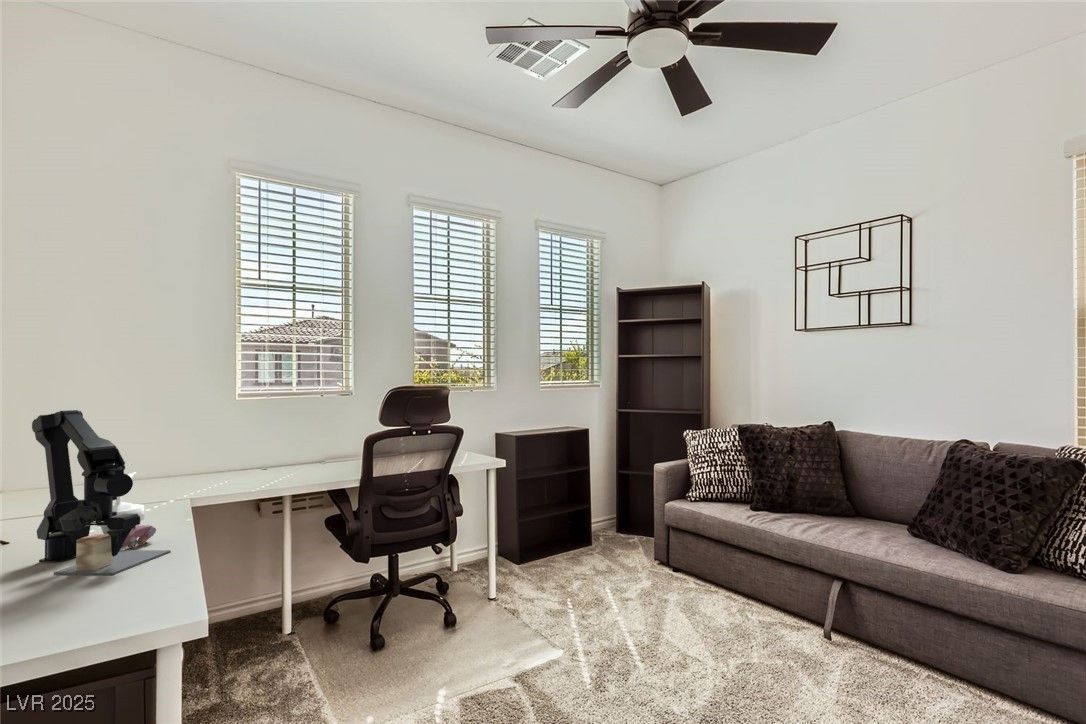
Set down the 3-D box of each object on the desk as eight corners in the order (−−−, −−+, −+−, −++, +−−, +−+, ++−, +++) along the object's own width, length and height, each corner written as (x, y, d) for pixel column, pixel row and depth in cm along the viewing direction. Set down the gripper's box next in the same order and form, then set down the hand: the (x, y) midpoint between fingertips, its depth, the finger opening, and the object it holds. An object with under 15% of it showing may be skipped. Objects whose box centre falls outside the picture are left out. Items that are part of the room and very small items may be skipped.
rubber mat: (53, 574, 135) (53, 572, 135) (117, 552, 152) (117, 550, 152) (113, 574, 133) (113, 572, 133) (170, 552, 151) (170, 550, 151)
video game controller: (121, 556, 153) (131, 534, 153) (109, 549, 154) (118, 526, 154) (152, 546, 163) (161, 525, 163) (141, 539, 164) (150, 518, 164)
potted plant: (124, 546, 158) (125, 459, 159) (85, 547, 158) (85, 460, 159) (156, 534, 170) (156, 454, 172) (119, 535, 171) (120, 455, 172)
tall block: (76, 570, 136) (76, 539, 136) (94, 563, 141) (94, 534, 141) (94, 570, 135) (95, 539, 136) (112, 563, 140) (112, 534, 141)
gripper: (33, 500, 133) (32, 566, 132) (103, 500, 131) (103, 566, 130) (76, 491, 144) (76, 552, 143) (142, 491, 142) (141, 552, 141)
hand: (98, 555), depth 139 cm, fingers open, 9 cm apart
